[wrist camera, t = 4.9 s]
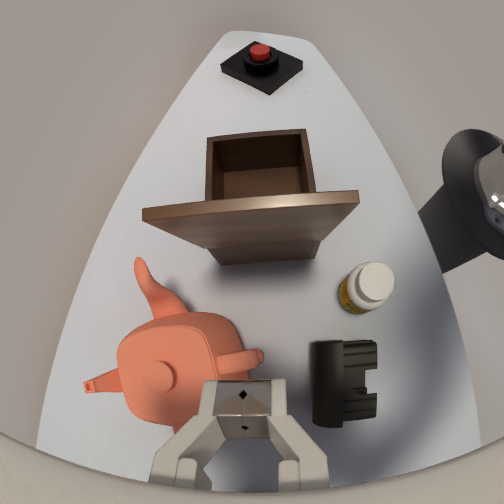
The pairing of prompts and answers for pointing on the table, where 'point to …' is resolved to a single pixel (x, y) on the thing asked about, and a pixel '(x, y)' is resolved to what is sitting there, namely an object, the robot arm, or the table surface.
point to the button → (260, 52)
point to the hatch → (255, 218)
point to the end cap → (342, 382)
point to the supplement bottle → (366, 288)
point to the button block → (262, 69)
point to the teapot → (173, 357)
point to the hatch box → (260, 183)
